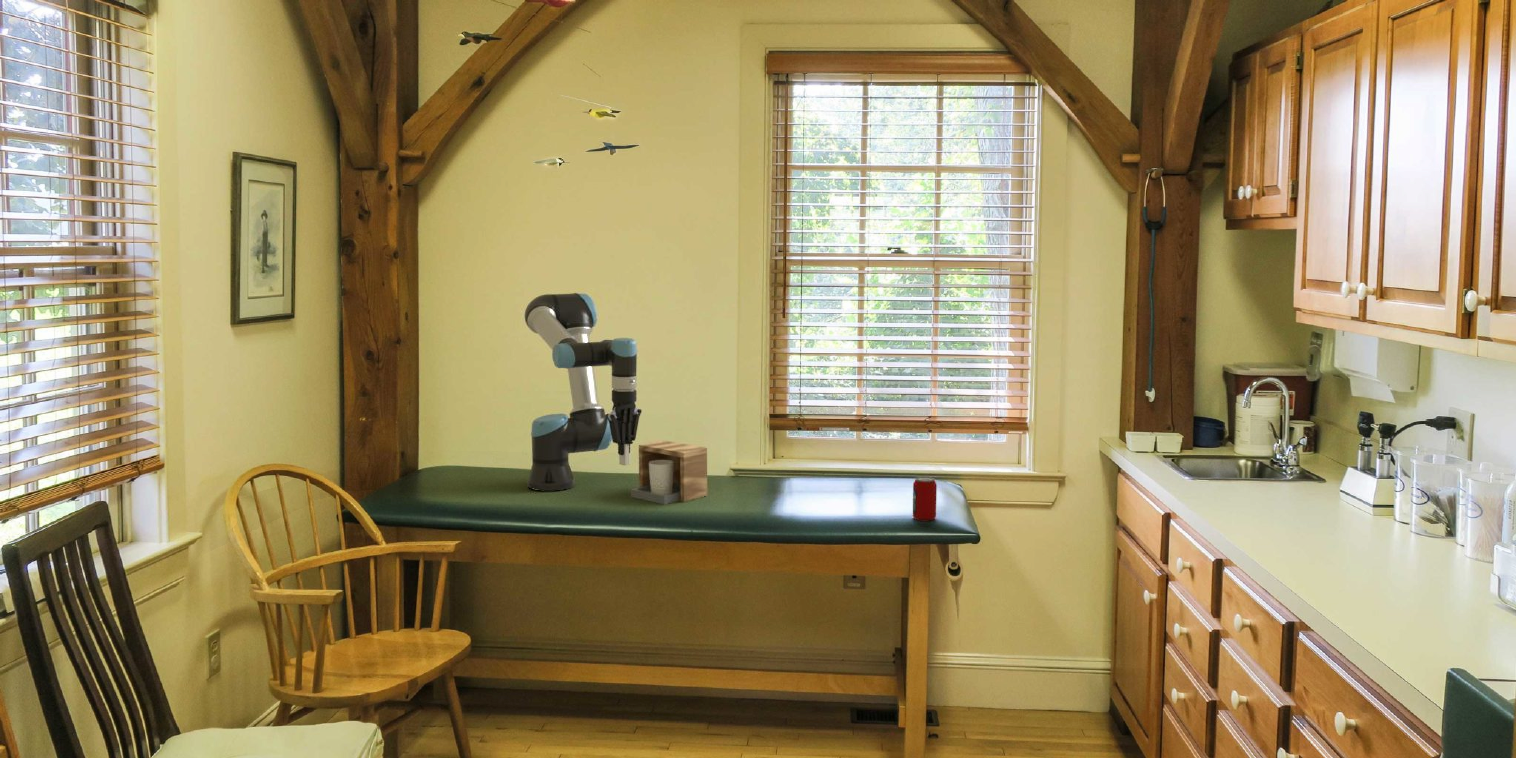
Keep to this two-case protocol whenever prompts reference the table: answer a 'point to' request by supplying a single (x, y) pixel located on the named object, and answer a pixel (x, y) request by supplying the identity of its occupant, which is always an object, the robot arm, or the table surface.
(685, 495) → the wooden crate
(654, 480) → the white cup
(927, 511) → the beverage can
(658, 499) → the tray
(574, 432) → the robot arm
